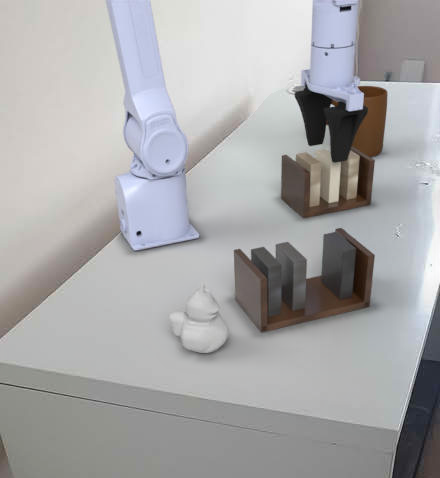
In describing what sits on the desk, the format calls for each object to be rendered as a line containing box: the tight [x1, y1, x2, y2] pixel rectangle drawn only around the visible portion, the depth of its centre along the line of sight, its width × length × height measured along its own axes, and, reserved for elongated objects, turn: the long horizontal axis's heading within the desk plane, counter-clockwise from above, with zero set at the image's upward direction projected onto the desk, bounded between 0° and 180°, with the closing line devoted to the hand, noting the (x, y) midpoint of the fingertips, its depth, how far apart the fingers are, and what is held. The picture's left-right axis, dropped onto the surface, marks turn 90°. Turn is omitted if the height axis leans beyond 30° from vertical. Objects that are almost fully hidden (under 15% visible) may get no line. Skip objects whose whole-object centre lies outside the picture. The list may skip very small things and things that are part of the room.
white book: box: [314, 148, 341, 203], centre depth 104 cm, size 2×5×6 cm, turn 20°
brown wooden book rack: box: [280, 146, 376, 219], centre depth 104 cm, size 11×8×7 cm
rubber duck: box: [168, 280, 230, 354], centre depth 75 cm, size 5×7×8 cm
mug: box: [326, 85, 389, 158], centre depth 119 cm, size 12×8×9 cm, turn 75°
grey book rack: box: [233, 227, 376, 333], centre depth 82 cm, size 14×8×7 cm, turn 110°
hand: (327, 152), depth 102 cm, fingers open, 7 cm apart
